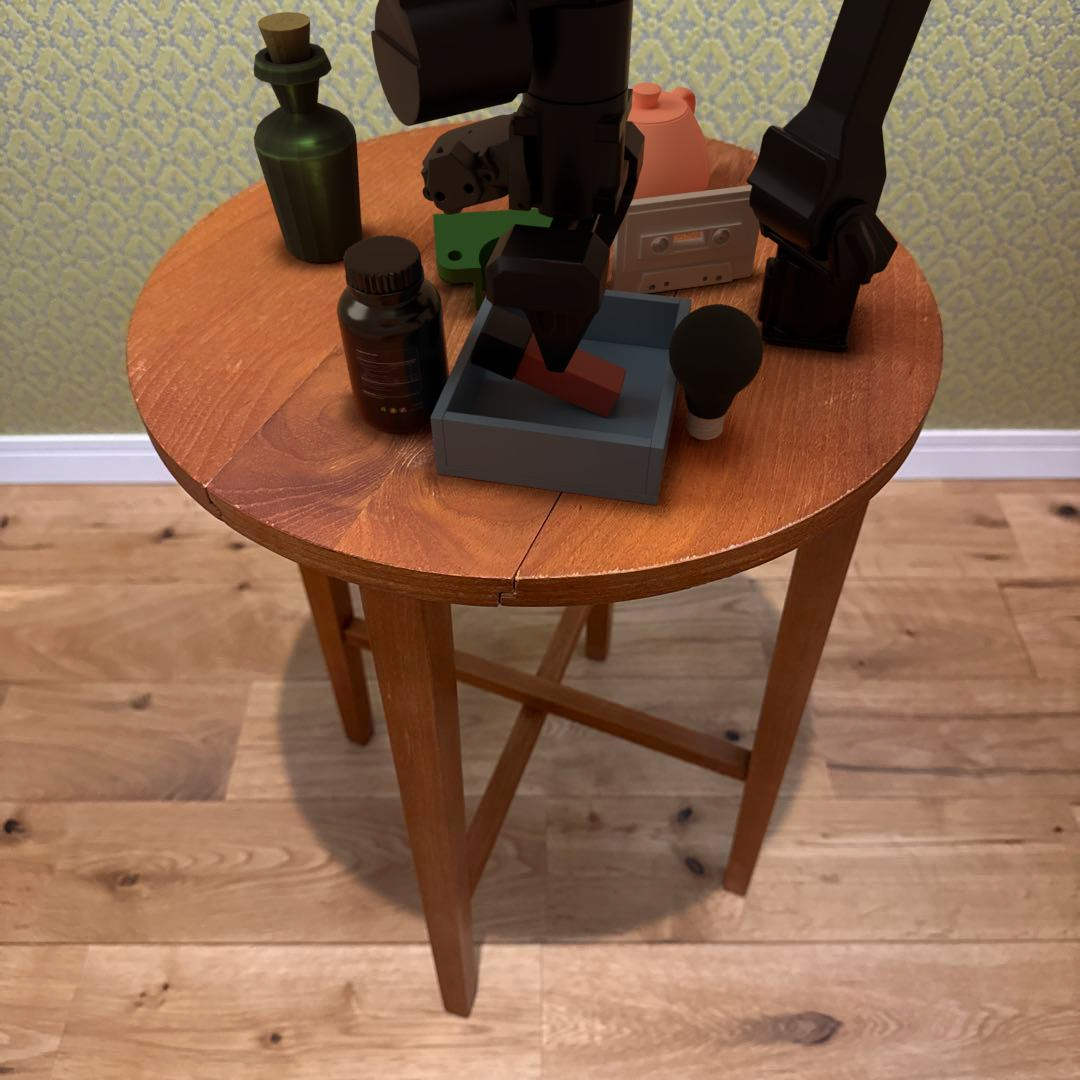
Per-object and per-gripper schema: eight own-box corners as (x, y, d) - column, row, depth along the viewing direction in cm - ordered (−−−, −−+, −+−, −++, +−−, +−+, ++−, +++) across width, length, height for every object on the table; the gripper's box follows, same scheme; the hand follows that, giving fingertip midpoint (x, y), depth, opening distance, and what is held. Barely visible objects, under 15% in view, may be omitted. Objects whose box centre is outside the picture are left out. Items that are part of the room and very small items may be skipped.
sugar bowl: (545, 204, 89) (544, 90, 81) (636, 152, 96) (643, 42, 89) (653, 249, 83) (664, 130, 76) (741, 189, 90) (759, 76, 83)
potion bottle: (344, 276, 80) (305, 47, 67) (259, 259, 82) (204, 33, 69) (388, 230, 86) (359, 9, 73) (307, 214, 88) (264, -3, 75)
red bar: (614, 392, 68) (629, 363, 66) (606, 420, 66) (622, 391, 64) (482, 336, 67) (494, 305, 65) (470, 363, 65) (482, 331, 63)
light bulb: (686, 476, 64) (704, 349, 56) (644, 423, 67) (656, 298, 60) (762, 452, 65) (789, 326, 58) (717, 402, 69) (737, 277, 62)
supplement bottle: (363, 375, 71) (337, 224, 62) (456, 376, 71) (443, 225, 62) (347, 435, 66) (317, 281, 58) (446, 437, 66) (431, 283, 58)
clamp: (468, 348, 81) (416, 278, 73) (463, 294, 84) (412, 222, 76) (603, 299, 77) (563, 221, 70) (593, 245, 80) (554, 165, 73)
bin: (685, 354, 73) (692, 298, 69) (657, 505, 62) (663, 448, 58) (496, 331, 75) (494, 276, 71) (436, 474, 64) (430, 417, 60)
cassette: (746, 268, 81) (760, 180, 76) (754, 279, 80) (770, 191, 74) (608, 287, 79) (613, 198, 74) (615, 299, 78) (620, 210, 72)
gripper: (473, 13, 59) (485, 244, 71) (376, 145, 47) (409, 401, 58) (654, 26, 58) (636, 260, 69) (603, 166, 45) (591, 425, 57)
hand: (569, 329), depth 63 cm, fingers open, 9 cm apart
